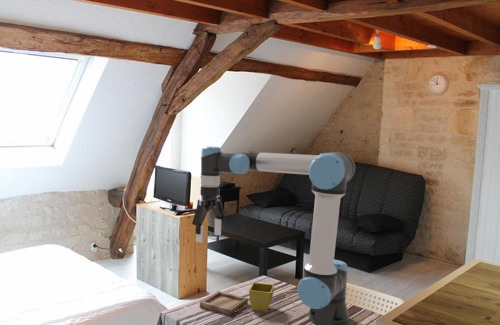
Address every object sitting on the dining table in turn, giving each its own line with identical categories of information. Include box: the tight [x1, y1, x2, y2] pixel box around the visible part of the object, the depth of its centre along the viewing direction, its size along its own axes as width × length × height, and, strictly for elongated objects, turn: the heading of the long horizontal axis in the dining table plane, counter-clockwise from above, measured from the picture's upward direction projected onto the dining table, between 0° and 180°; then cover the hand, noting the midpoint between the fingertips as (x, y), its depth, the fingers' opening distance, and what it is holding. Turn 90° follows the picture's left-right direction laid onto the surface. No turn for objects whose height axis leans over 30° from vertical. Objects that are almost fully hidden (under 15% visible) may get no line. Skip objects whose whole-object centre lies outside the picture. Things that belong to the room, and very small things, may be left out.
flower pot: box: [248, 282, 275, 313], centre depth 185 cm, size 9×9×9 cm
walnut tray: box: [199, 290, 249, 316], centre depth 187 cm, size 14×14×2 cm
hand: (208, 238), depth 186 cm, fingers open, 13 cm apart
